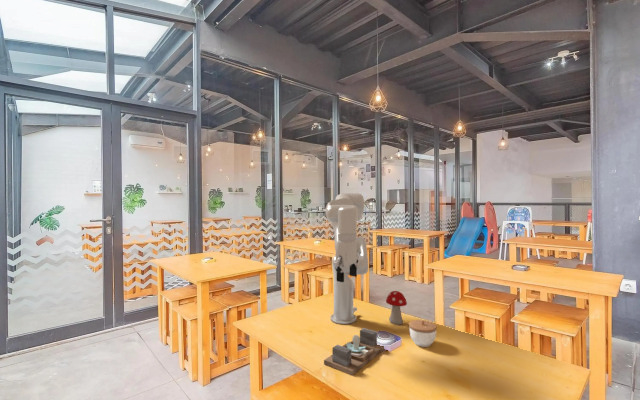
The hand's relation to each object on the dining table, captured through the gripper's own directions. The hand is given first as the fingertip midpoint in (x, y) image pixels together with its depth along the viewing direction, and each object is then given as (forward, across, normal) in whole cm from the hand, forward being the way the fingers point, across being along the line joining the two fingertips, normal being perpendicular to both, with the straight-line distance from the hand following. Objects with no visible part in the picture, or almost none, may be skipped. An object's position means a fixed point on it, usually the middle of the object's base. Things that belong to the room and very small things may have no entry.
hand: (346, 278), depth 136 cm
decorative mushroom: (+28, -32, +8) cm, 43 cm away
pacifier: (+24, +9, +10) cm, 28 cm away
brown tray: (+26, +8, +10) cm, 29 cm away
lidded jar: (+27, -17, +26) cm, 41 cm away
